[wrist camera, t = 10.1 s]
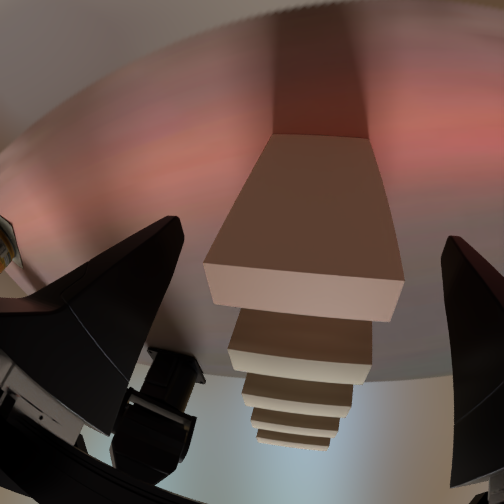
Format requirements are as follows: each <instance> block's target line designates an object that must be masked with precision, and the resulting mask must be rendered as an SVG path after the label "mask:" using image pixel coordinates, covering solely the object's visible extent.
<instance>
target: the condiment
mask: <svg viewBox="0 0 504 504" xmlns="http://www.w3.org/2000/svg"><path fill="white" fill-rule="evenodd" d="M12 260H13V261H14V262H15V263H16V264H17V265H18V266H19V267H21V268H22V269H23V267H22V263H21V259H20V255H19V251H18V248H17V246H16V241H15V236H14V234H13V229H12V226H11V225H9V224H8V222H6V221H5V220H4V219H3V218H2V217H1V216H0V274H1V273H2V271H3V270H4V269H5V268H6V267H7V266H8V265H9V263H10V262H11V261H12Z"/></svg>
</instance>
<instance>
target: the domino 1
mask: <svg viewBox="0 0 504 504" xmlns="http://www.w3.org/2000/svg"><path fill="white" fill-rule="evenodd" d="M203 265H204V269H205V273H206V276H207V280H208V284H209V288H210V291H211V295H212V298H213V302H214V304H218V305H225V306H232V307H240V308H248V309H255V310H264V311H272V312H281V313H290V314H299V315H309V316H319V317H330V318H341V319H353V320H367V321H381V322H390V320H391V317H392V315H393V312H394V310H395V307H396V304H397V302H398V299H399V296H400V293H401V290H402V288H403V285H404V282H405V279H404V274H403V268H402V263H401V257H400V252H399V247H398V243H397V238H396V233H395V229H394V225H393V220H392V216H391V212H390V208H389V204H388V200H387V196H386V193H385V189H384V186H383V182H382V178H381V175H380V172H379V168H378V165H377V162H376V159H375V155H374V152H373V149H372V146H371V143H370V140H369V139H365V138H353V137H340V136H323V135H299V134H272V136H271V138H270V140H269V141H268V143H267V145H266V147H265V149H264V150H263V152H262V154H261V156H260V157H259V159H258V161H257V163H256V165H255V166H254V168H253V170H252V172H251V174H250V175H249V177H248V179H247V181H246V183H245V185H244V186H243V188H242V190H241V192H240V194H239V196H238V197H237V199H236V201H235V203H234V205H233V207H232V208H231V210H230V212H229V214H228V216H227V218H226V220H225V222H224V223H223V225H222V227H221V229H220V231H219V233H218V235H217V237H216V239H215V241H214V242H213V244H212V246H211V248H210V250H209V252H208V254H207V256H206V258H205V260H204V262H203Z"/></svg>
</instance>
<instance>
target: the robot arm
mask: <svg viewBox="0 0 504 504" xmlns="http://www.w3.org/2000/svg"><path fill="white" fill-rule="evenodd" d="M183 243H184V233H183V229H182V225H181V222H180V219H179V217H177V216H166V217H164V218H162V219H160V220H158V221H156V222H155V223H153V224H151V225H149V226H147V227H146V228H144V229H142V230H140V231H139V232H137V233H135V234H133V235H132V236H130V237H128V238H126V239H125V240H123V241H121V242H119V243H118V244H116V245H114V246H113V247H111V248H109V249H108V250H106V251H104V252H103V253H101V254H99V255H98V256H96V257H94V258H93V259H91V260H90V261H89V262H86V263H84V264H83V265H81V266H80V267H78V268H76V269H75V270H73V271H71V272H70V273H68V274H66V275H64V276H63V277H61V278H59V279H58V280H56V281H54V282H52V283H50V284H49V285H47V286H45V287H43V288H42V289H40V290H38V291H37V292H35V293H33V294H31V295H29V296H27V297H23V298H1V297H0V486H1V487H3V488H6V489H8V490H11V491H14V492H16V493H19V494H22V495H25V496H28V497H31V498H33V499H34V500H35V501H36V502H38V503H39V504H206V503H203V502H200V501H196V500H193V499H190V498H187V497H184V496H181V495H178V494H175V493H172V492H170V491H167V490H164V489H162V488H159V487H157V486H154V485H156V484H157V483H159V482H160V481H161V480H163V479H164V478H166V477H167V476H168V475H170V474H171V473H172V472H174V471H175V470H176V468H177V465H178V463H181V462H182V461H183V460H184V458H185V456H186V454H187V452H188V449H189V446H190V442H191V438H192V435H193V431H194V427H195V423H196V419H197V417H195V416H190V415H188V414H185V413H184V411H185V408H186V406H187V403H188V400H189V398H190V395H191V393H192V390H193V387H194V385H195V382H196V383H200V384H205V383H206V380H205V378H204V376H203V374H202V372H201V370H200V368H199V366H198V364H197V362H196V360H195V359H194V358H192V357H188V356H184V355H179V354H175V353H171V352H167V351H163V350H158V349H155V348H151V347H148V349H147V352H148V353H149V355H150V356H151V358H152V359H153V362H152V365H151V367H150V369H149V371H148V373H147V375H146V377H145V381H144V383H143V385H142V387H141V390H140V392H138V391H136V390H134V389H133V388H132V387H130V388H129V389H128V388H127V387H128V384H129V381H130V378H131V376H132V373H133V370H134V368H135V365H136V363H137V360H138V358H139V355H140V353H141V350H142V348H143V345H144V343H145V340H146V338H147V335H148V333H149V330H150V328H151V326H152V323H153V321H154V318H155V316H156V314H157V311H158V309H159V307H160V304H161V302H162V300H163V297H164V295H165V293H166V290H167V288H168V286H169V284H170V281H171V279H172V276H173V273H174V271H175V267H176V264H177V261H178V258H179V255H180V252H181V249H182V246H183ZM441 268H442V279H443V291H444V303H445V310H446V316H447V323H448V330H449V338H450V347H451V357H452V370H453V387H454V424H455V425H454V440H453V442H454V443H453V458H452V470H451V480H450V488H455V487H461V486H466V485H471V484H475V483H480V482H484V481H488V480H489V489H488V492H484V493H481V494H478V495H476V496H475V497H474V498H473V499H472V501H471V502H470V503H469V504H504V277H503V276H502V275H501V274H500V273H499V272H498V271H497V270H496V269H495V268H494V267H493V266H492V265H491V264H490V263H489V262H488V261H487V260H486V259H484V258H483V257H482V256H481V255H480V254H479V253H478V252H477V251H476V250H475V249H474V248H473V247H471V246H470V245H469V244H468V243H467V242H466V241H465V240H464V239H462V238H461V237H459V236H449V237H448V238H447V241H446V244H445V247H444V250H443V252H442V256H441ZM129 401H131V402H133V403H134V405H131V404H129ZM84 424H85V425H87V426H88V427H90V428H92V429H94V430H96V431H98V432H100V433H102V434H104V435H106V436H110V434H111V433H113V434H115V435H114V437H113V439H112V442H111V446H110V456H111V460H112V465H113V467H112V466H110V465H108V464H106V463H103V462H102V461H100V460H98V459H96V458H94V457H92V456H91V455H89V454H88V452H87V449H86V446H85V442H84V439H83V436H82V435H81V434H80V431H81V429H82V427H83V425H84Z"/></svg>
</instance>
